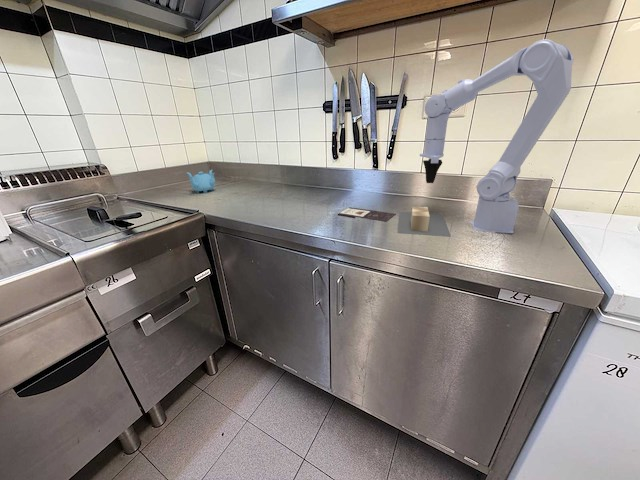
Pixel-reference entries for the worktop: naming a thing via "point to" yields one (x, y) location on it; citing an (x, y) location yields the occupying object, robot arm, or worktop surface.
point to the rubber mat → (434, 228)
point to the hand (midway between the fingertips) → (429, 182)
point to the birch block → (419, 219)
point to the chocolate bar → (366, 214)
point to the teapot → (202, 181)
